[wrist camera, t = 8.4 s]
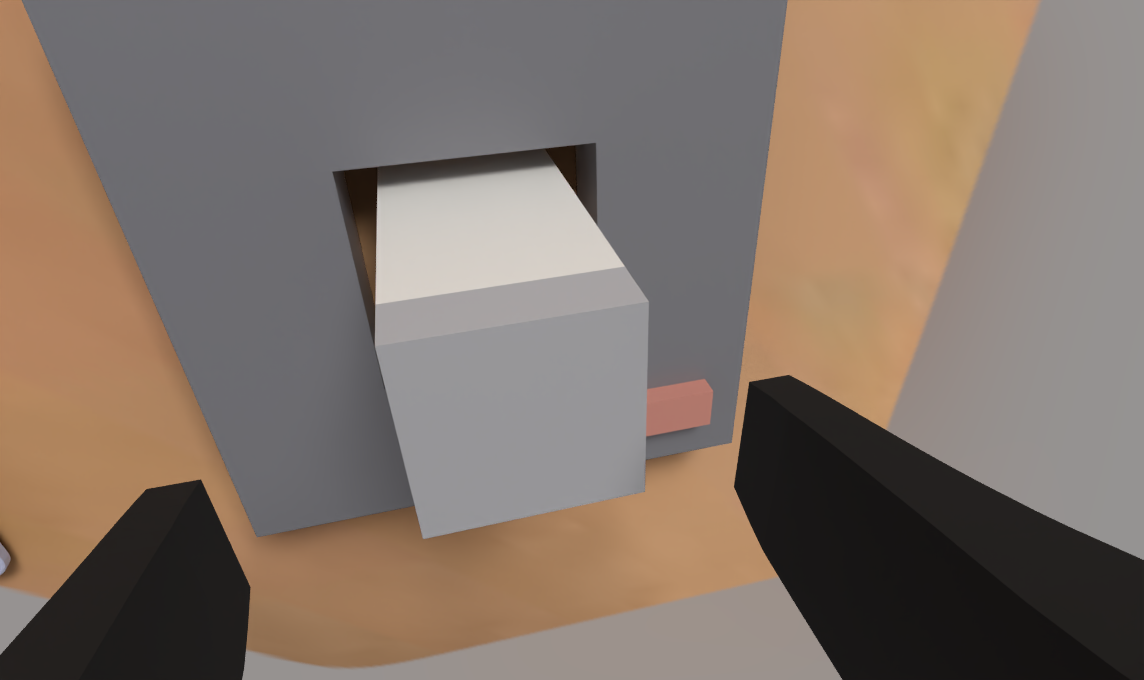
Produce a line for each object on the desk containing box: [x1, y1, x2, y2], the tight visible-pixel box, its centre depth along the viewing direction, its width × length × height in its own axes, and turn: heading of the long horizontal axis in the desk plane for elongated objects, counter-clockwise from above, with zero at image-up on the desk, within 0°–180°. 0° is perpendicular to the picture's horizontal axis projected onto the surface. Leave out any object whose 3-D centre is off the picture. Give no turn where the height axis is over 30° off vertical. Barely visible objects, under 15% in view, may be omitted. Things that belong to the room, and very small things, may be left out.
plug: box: [375, 148, 649, 539], centre depth 14 cm, size 4×4×8 cm
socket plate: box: [22, 0, 787, 537], centre depth 16 cm, size 14×14×3 cm
